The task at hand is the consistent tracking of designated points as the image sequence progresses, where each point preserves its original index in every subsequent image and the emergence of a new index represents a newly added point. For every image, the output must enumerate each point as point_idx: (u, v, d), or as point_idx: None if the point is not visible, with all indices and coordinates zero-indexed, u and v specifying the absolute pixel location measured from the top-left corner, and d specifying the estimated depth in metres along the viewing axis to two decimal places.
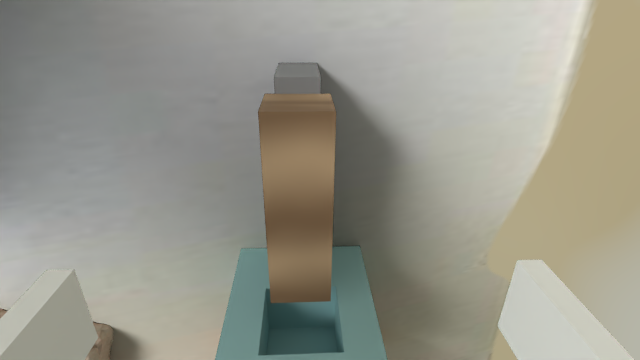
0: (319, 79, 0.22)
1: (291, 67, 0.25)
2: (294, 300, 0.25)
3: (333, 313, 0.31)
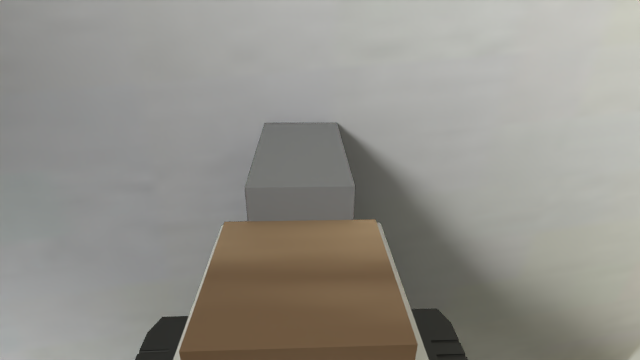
0: (352, 191, 0.09)
1: (288, 140, 0.12)
2: None
3: None
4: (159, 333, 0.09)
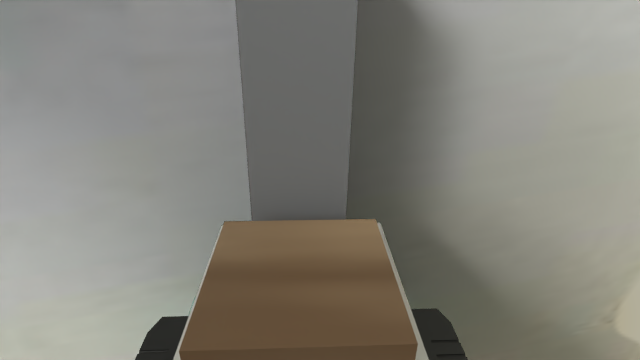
0: None
1: None
2: None
3: None
4: (159, 333, 0.09)
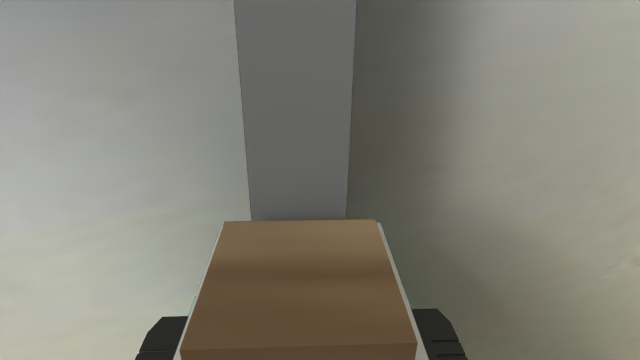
0: None
1: None
2: None
3: None
4: (159, 332, 0.09)
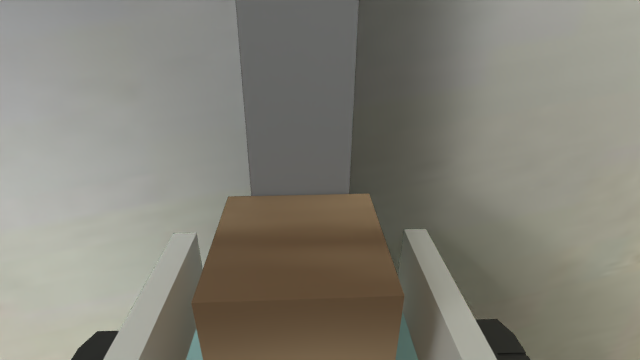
0: None
1: None
2: None
3: None
4: (90, 349, 0.09)
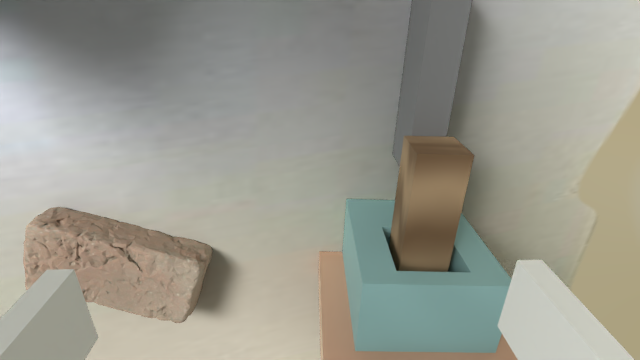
0: None
1: None
2: None
3: None
4: None
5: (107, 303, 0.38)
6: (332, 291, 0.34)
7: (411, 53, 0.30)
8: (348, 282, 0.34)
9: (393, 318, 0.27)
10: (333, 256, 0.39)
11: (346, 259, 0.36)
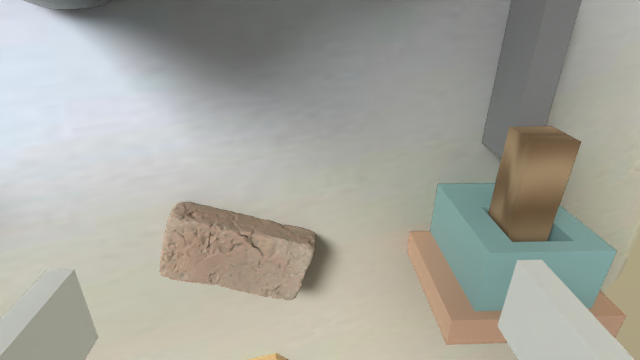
0: None
1: None
2: None
3: None
4: None
5: (229, 285, 0.43)
6: (435, 264, 0.39)
7: (511, 54, 0.34)
8: (450, 256, 0.39)
9: (510, 281, 0.32)
10: (423, 235, 0.44)
11: (442, 236, 0.41)
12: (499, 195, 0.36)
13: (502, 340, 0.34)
